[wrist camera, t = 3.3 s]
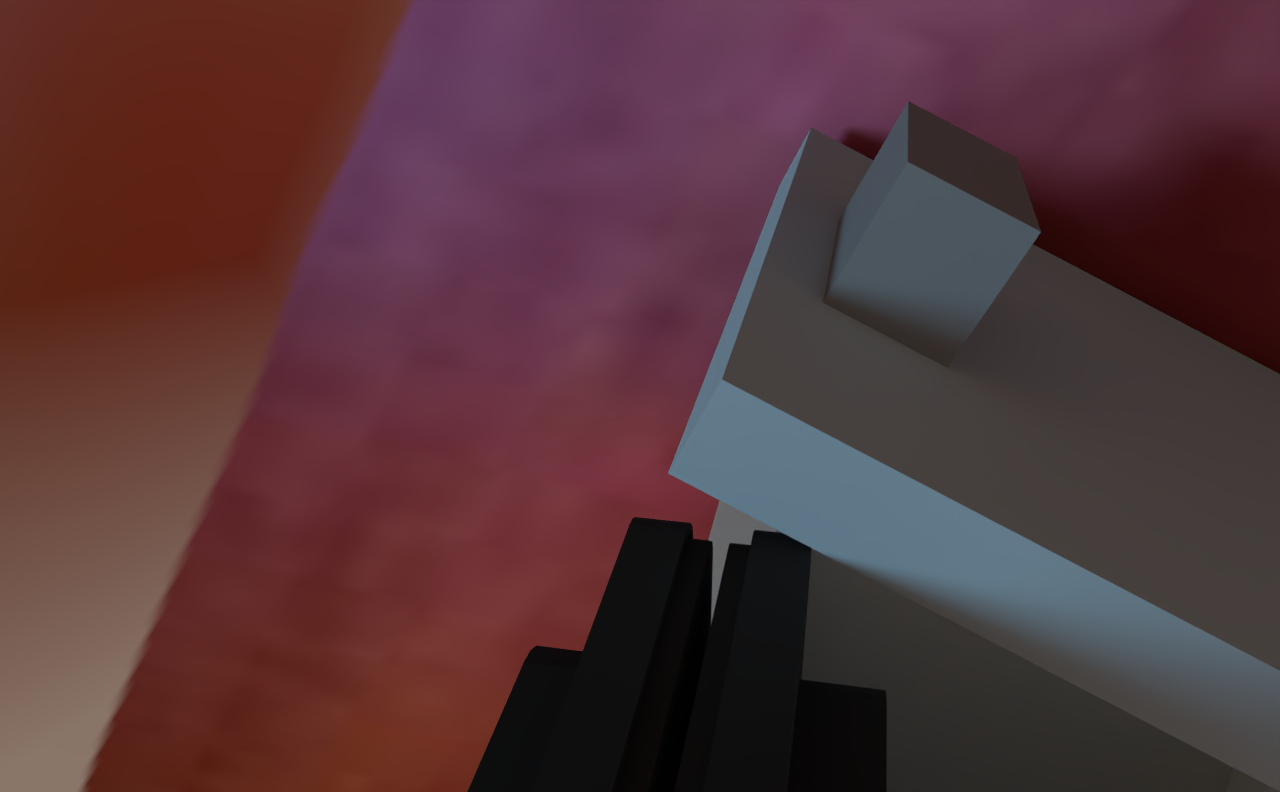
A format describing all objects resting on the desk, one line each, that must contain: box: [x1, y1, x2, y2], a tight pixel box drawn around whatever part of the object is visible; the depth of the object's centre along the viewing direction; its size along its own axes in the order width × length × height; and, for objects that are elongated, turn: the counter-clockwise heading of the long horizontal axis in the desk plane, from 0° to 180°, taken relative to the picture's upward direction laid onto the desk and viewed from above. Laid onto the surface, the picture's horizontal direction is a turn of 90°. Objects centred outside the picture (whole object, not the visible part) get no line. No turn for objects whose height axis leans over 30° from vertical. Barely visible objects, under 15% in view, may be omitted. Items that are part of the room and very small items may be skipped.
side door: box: [668, 101, 1280, 792], centre depth 13 cm, size 11×3×9 cm, turn 65°
